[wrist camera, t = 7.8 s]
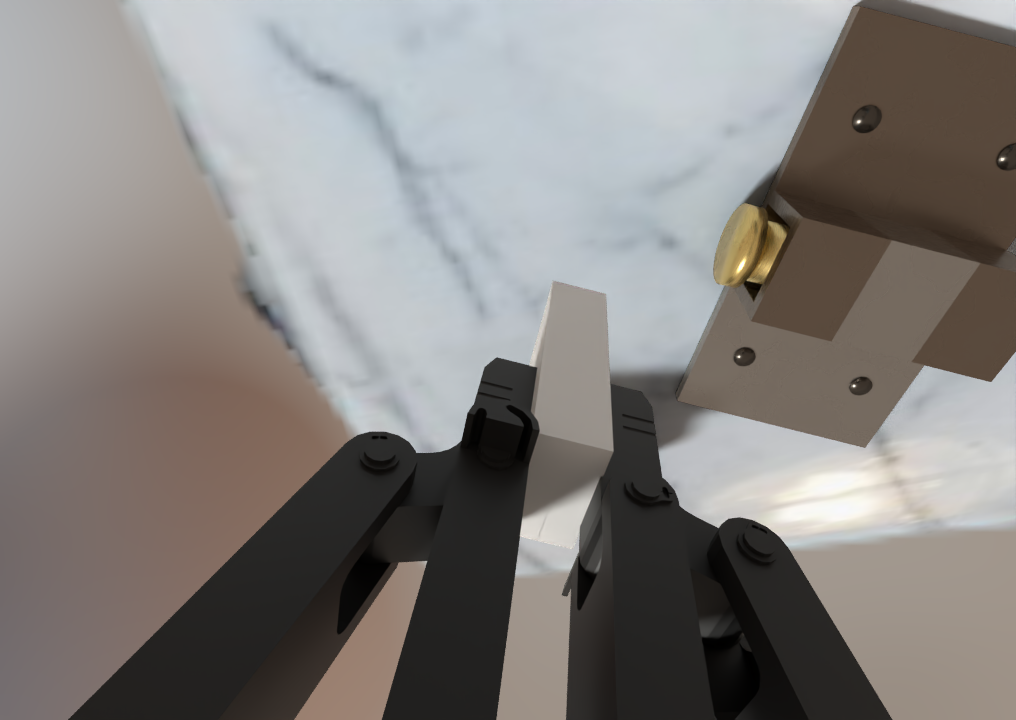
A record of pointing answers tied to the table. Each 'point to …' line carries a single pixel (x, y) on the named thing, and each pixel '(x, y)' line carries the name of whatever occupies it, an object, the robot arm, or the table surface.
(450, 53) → the table surface
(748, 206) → the pin
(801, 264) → the square tube base plate
